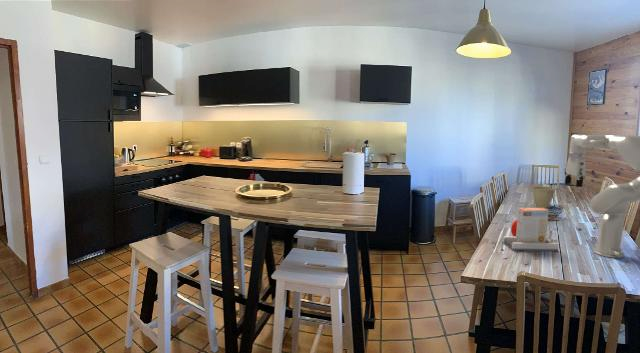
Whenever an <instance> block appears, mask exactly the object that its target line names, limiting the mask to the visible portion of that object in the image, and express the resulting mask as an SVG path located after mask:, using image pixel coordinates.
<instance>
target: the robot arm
mask: <svg viewBox="0 0 640 353" xmlns="http://www.w3.org/2000/svg"><path fill="white" fill-rule="evenodd" d="M587 149H607V150H610V151H611V152H616V153H617V152H618V153H619V155H620V156H621V157H622V159H623V160H624V161H625V162H626V163H627V164H628V165H629V167H631V168H632V169H633V171H636V172H640V135H634V134H633V135H631V134H630V135H629V134H628V135H626V134H614V135H612V134H572V135H571V136H570V143H569V150H568V159H567V163H566V167H565V168H564V169H563V170H564V177H565V178H564V184H567V185H568V184H572V176H573V177H576V184H575V187H577V188H581V187H582V188H583V183H584V180H585V178H586V176H587V172H586V166H587V164H586V159H585V156H586V150H587ZM639 201H640V175H638V176H637V177H636V178H634V179H633V180H631V181H629V182H626V183H625V182H624V183H615V184H611V185H609V186H606V187H605V188H604V189H603V190H601V191H600V192H599V193H597V194H596V195H594V196H593V197H592V198H591V200H590V202H589V208H590V211H591V212H593V213H594V214H597V215H601V217H600V223H599V227H598V228H599V229H598V237H597V242H596V244H597V245H596V247H593V248H592V252H593V253H595V254H597V255H599V256H602V257H605V258H611V259H612V258H613V259H621V258H624V256H625V253H624V252H622V248H621V245H622V238H623V231H624V225H625V220H626V219H625V218H626V217H627V214H628V212H629V207H630V204H632V203H636V202H639Z"/></svg>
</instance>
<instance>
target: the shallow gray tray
mask: <svg viewBox="0 0 640 353" xmlns="http://www.w3.org/2000/svg"><path fill="white" fill-rule="evenodd" d="M503 243H504V244H503ZM502 244H503V245H504V246H506V247H507V246H508V247H507V248H509V249H510V248H511V249H510V250H511V251H513V250H524V251H525V252H527V251H528V252H529V251H530V252H532V251H533V252H534V251H535V252H559V243H558V242H551V241H549V240H548V237H547V236H546V243H520V242H516V237H513V235H512V236H509V235H508V236H503V237H502ZM524 251H523V252H524Z"/></svg>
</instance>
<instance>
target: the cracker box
mask: <svg viewBox="0 0 640 353" xmlns="http://www.w3.org/2000/svg"><path fill="white" fill-rule="evenodd" d="M549 212H550V211H549V209H548V208H545V209H544V208H538V207H518V208H517V218H516V220H517V230H516V242H520V243H546V237H547V234H548V233H547V232H548V224H549V223H548V222H549Z"/></svg>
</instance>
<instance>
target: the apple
mask: <svg viewBox="0 0 640 353" xmlns="http://www.w3.org/2000/svg"><path fill="white" fill-rule="evenodd" d="M516 230H517V219H516V220H514V221H513V222H512V224H511V227H510V232H511V235H512V236H513V237H516Z"/></svg>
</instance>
